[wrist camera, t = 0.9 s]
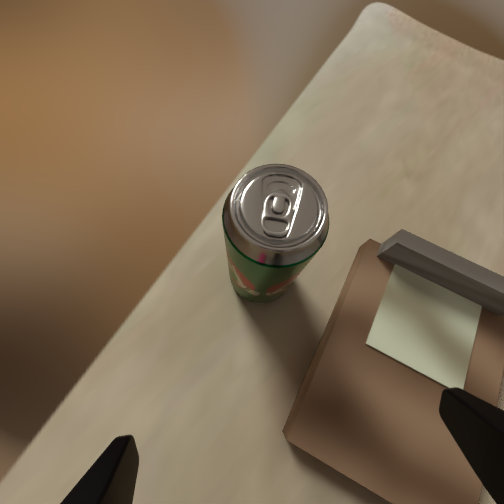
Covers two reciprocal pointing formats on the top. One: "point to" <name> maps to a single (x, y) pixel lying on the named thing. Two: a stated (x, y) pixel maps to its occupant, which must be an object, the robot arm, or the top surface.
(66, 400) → the top surface
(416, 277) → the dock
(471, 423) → the robot arm
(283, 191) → the soda can
